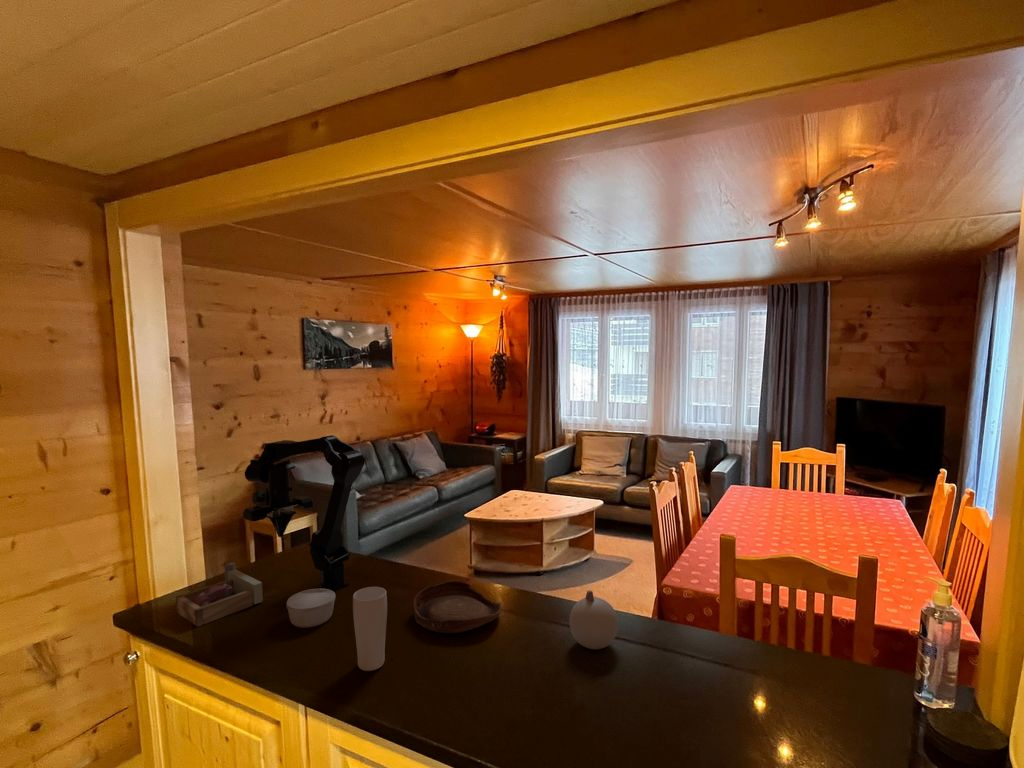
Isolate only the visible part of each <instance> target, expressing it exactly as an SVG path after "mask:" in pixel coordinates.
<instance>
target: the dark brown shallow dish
mask: <svg viewBox="0 0 1024 768" xmlns="http://www.w3.org/2000/svg"><path fill="white" fill-rule="evenodd" d="M502 608H503V607H502V604H501V602H498V603H496V602H495V601H491V600H490V599H488V598H487V597H485V596H484V595H483V594H482V593H480V592H479V591H477V590H476V589H475V588H473V587H472V585H471V584H469V583H467V582H464V581H462V580H447V581H445V582H440V583H437V584H433V585H432V584H430V585H428V586H426V587H425V588H423V589H421V590H420V591H419V592H418V593H417V594H416V595H415V596H414V598H413V605H412V609H413V616H414V619H415V622H416V623H417V624H419V625H420V627H423V628H425V629H426V630H429V631H431V632H435V633H438V634H439V633H442V634H459V633H464V632H468V631H470V630H473V629H477V628H479V627H481V626H483V625H485V624H489V623H491V622H493V621H494V620H496V619H497V618H498V617H499V615H500V614H501V612H502V610H503V609H502Z"/></svg>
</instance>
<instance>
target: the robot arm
mask: <svg viewBox="0 0 1024 768" xmlns="http://www.w3.org/2000/svg"><path fill="white" fill-rule="evenodd" d="M317 452H321V453H322V454H323V456H324V458H325V461H326V463H328V464H329V465H330V466H331V470H330V471H331V477H332V479H333V485H332V488H331V493H330V496H329V501H328V505H327V507H326V511H325V517H324V519H323V522H322V523H323V524H322V527H321V529H318V530H316V531H314V532H312V535H311V540H310V543H309V544H308V547H310V548H309V554H310V556H311V558H312V562H313V566H314V568H315V569H316V570H318V571H320V583H318V584H316V588H317V589H328V590H331V591H333V592H334V591H336V590H339V589H341V588H344V587H346V586H348V585H350V582H349V581H346V580H345V565H344V563H345V562H346V561H349V559H350V556H351V552H350V551H349V549H347V547H346V546H345V545H344V543H343V541H344V536H343V532H342V531H341V528H342V524H343V521H344V518H345V515H346V514H345V513H346V509H347V505H348V501H349V497H350V494H351V490H352V486H353V484H354V482H355V481H356V480H357V479H358V477H359V476H360V475H361V472H362V471H363V468H364V466H365V462H366V461H365V457H364V455H363V453H362V452H361V451H360V450H357V449H356V448H354V447H353V446H352V445H350V444H349V443H346V442H345V441H342V440H341V439H340V438H338V437H337V436H335V435H334V434H333V435H325V436H321V437H319V438H318V437H317V438H312V439H307V440H306V439H305V440H301V441H295V440H288V439H284V440H279V441H272V442H268V443H266V444H265V445H264V447H263V449H262V452H261V454H260V455H259V457H258V458H253V459H250V460H249V461H250V462H249V464H248V466H246V469H245V471H244V477H245V480H246V481H248V482H250V483H251V482H252V483H260V484H261V483H262V484H267V487H265V488H266V489H265V492H264V493H262V491H255V492H253V493H252V497H251V498H252V503H253V504H254V505H255V506H252V507H251V506H250V507H245V509H244V511H243V512H242V519H244V520H247V521H250V522H257V521H261V520H265V519H268V520H270V522H271V524H272V525H273V527H274V530H275V533H276V534H277V537H279V538H283V536H284V535H285V532H286V530H287V527H288V526H289V523H290V522H291V519H292V518H293V516H294V515H296V514H297V511H295V510H294V508H297V507H302V508H303V509H305V510H306V509H309V508H313V507H314V506H315V505H314V499H313V498H312V497H311V496H307V495H299V496H294V497H292V499H291V492H293V487H292V486H291V484H290V483H291V482H290V478H291V477H290V471H291V470H293V469H295V468H296V465H295V464H293V463H292V462H291V461H290V459H292V458H294V457H296V456H298V455H304V454H310V453H317ZM285 460H286V461H285ZM257 504H259V505H257ZM264 506H265V507H264Z"/></svg>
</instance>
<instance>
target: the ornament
mask: <svg viewBox="0 0 1024 768" xmlns="http://www.w3.org/2000/svg"><path fill="white" fill-rule="evenodd" d="M568 622H569V623H568V624H569V629H570V632H571V634H572V636H573V638H574V639H575V641H576V642H577V643H578V644H579V645H581V646H582V647H585V648H587V649H589V650H602V649H605V648H607V647H608V646H610V645H611V643H612V642H613V641H614V640H615V638H616V637H617V633H618V629H619V620H618V615H617V612H616V610H615V609H614V607H613V606H612V605H611V603H610V602H608V601H606V600H605V599H604V598H601V597H597V596H594V592H593V591H592V590H591V589H589V590H587V591H586V594H585V597H584V598H581V599H580V600H577V602H576V603H575V604H574V606H573V607H572V608H571V611H570V615H569V621H568Z"/></svg>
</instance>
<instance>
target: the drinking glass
mask: <svg viewBox="0 0 1024 768" xmlns="http://www.w3.org/2000/svg"><path fill="white" fill-rule="evenodd" d="M352 615H353V617H352V618H353V626H354V634H355V643H356V652H357V666H358V668H359V669H360V670H362V671H365V672H371V671H376V670H378V669H379V668H381V667H382V666H384V663H385V659H386V658H385V657H386V656H385V653H386V652H385V651H386V648H385V647H386V635H387V619H388V596H387V590H386V589H385V588H383V587H380V586H367V587H363V588H361V589H358V590H356V591H355V592H354V593H353V595H352Z"/></svg>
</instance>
